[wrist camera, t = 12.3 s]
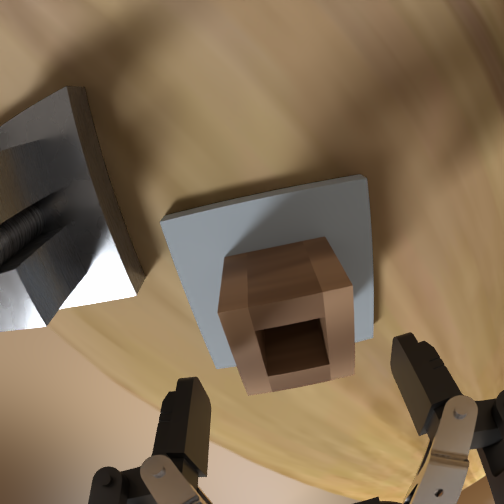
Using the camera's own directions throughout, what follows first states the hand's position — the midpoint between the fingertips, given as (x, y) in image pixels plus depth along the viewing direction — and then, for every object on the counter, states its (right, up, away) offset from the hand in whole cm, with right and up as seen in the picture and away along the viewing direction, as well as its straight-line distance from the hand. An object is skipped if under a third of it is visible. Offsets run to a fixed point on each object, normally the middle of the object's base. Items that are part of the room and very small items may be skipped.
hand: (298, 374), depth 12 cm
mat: (0, +3, +7) cm, 8 cm away
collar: (0, +3, +6) cm, 7 cm away
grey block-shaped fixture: (-15, +8, +5) cm, 17 cm away
